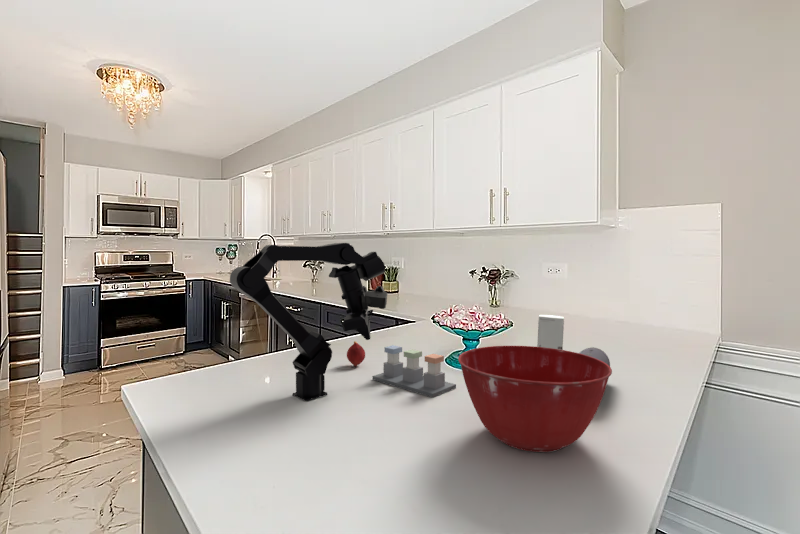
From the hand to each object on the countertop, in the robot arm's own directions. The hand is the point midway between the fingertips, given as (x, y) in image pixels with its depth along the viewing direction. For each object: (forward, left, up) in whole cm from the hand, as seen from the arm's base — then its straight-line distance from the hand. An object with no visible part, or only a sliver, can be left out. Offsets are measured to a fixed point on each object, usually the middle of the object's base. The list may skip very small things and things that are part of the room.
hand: (368, 339), depth 117 cm
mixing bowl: (-1, -49, -13) cm, 50 cm away
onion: (+9, +15, -12) cm, 22 cm away
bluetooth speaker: (+34, -48, -13) cm, 60 cm away
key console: (+8, -10, -12) cm, 17 cm away
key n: (+8, -10, -8) cm, 15 cm away
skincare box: (+59, -27, -13) cm, 66 cm away
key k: (+8, -17, -8) cm, 20 cm away
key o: (+8, -2, -8) cm, 11 cm away
